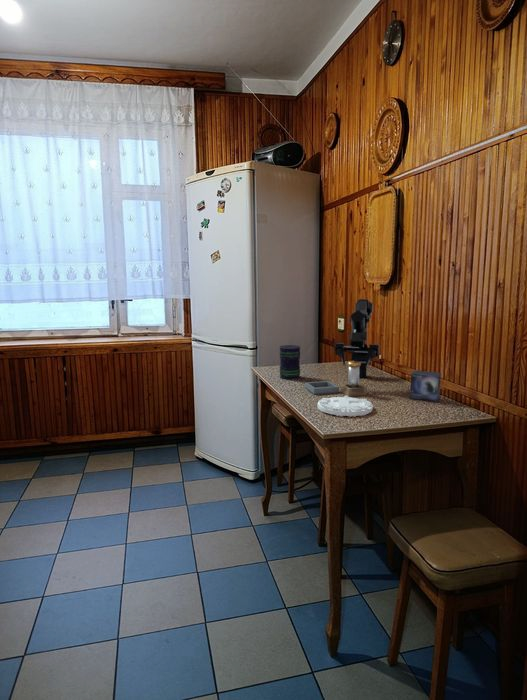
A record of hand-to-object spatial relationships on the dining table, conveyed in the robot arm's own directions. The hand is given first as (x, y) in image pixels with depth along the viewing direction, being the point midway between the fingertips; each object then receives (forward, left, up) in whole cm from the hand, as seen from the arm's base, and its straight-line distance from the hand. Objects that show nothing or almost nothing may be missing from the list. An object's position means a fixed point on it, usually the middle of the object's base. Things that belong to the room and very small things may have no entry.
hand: (355, 365), depth 196 cm
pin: (+4, -2, -11) cm, 12 cm away
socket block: (+4, -2, -11) cm, 12 cm away
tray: (-4, -13, -11) cm, 18 cm away
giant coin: (+24, -15, -11) cm, 30 cm away
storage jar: (-32, -18, -11) cm, 39 cm away
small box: (+20, +21, -11) cm, 31 cm away
